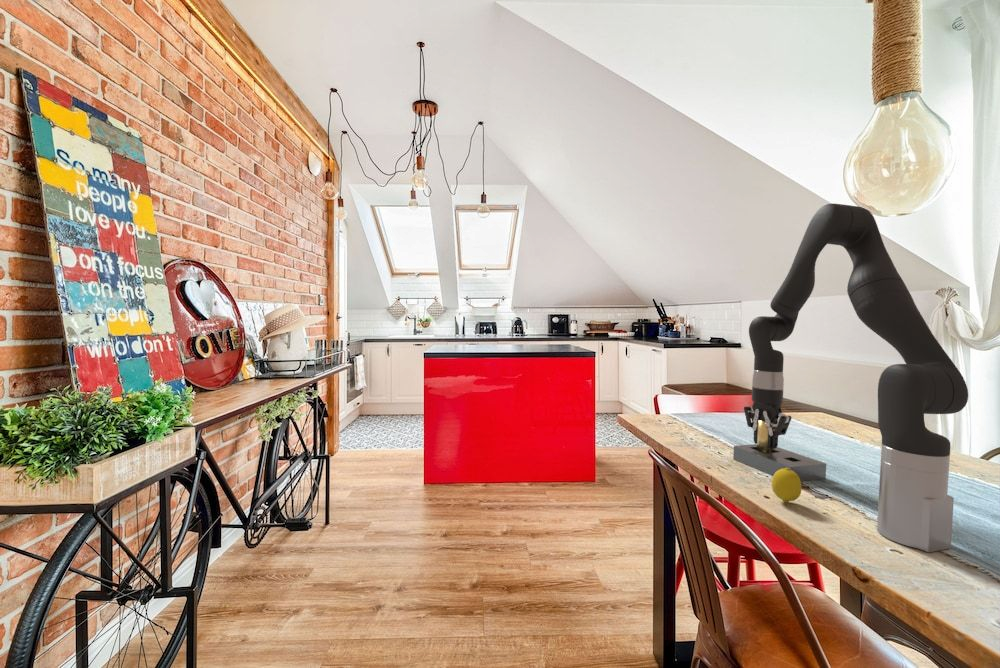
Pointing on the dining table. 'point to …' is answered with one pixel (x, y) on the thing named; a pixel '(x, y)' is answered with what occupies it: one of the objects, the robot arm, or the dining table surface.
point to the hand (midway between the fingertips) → (765, 445)
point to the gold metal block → (763, 437)
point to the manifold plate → (780, 462)
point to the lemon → (786, 485)
